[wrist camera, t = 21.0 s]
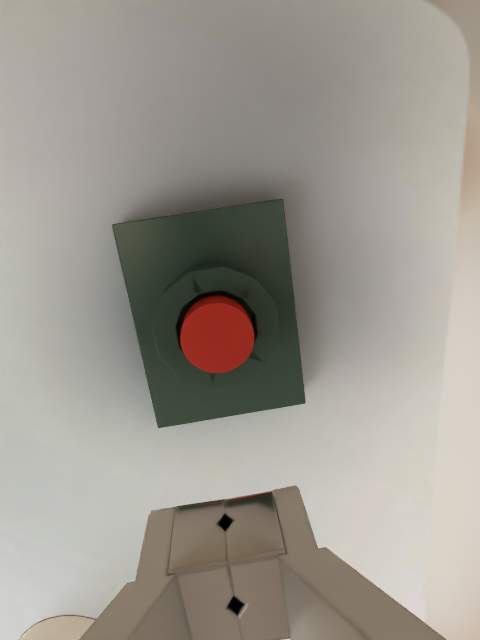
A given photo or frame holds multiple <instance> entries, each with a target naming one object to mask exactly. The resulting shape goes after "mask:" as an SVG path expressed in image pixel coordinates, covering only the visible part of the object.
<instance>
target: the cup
mask: <svg viewBox="0 0 480 640" xmlns="http://www.w3.org/2000/svg"><path fill="white" fill-rule="evenodd" d="M94 621H95V620H93V619H90V618H86V617H79V616H60V617H55V618H50V619H47V620H44V621H42V622H39V623H38V624H36V625H34V626H32V627H31V628H30V629H28V630H27V631H26V632H25V633H24V634H23V635H22V637H21V638H20V639H19V640H79V639H80V638H81V637H82V635H83V634H84V633H85V632H86V631H87V629H88V628H89V627H90V626H91V625H92V624H93V622H94Z"/></svg>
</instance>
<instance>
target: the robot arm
mask: <svg viewBox="0 0 480 640" xmlns="http://www.w3.org/2000/svg"><path fill="white" fill-rule="evenodd" d="M288 638H290V639H291V640H446V639H445V638H444V637H442V636H441V635H440V634H438V633H437V632H436V631H435V630H433V629H432V628H431V627H429V626H428V625H427V624H425V623H424V622H423V621H421V620H420V619H419V618H418V617H416V616H415V615H414V614H412V613H411V612H410V611H408V610H407V609H406V608H404V607H403V606H402V605H401V604H399V603H398V602H397V601H395V600H394V599H393V598H391V597H390V596H389V595H387V594H386V593H385V592H384V591H382V590H381V589H380V588H378V587H377V586H376V585H374V584H373V583H372V582H370V581H369V580H368V579H367V578H365V577H364V576H363V575H361V574H360V573H359V572H357V571H356V570H355V569H353V568H352V567H351V566H350V565H348V564H347V563H346V562H344V561H343V560H342V559H340V558H339V557H338V556H336V555H335V554H334V553H333V552H331V551H330V550H329V549H327V548H320V549H318V547H317V544H316V541H315V538H314V534H313V531H312V528H311V525H310V522H309V519H308V516H307V513H306V510H305V506H304V503H303V500H302V497H301V494H300V491H299V488H298V487H297V486H291V487H286V488H281V489H276V490H273V492H272V491H269V492H263V493H258V494H252V495H247V496H241V497H236V498H230V499H223V500H216V501H210V502H203V503H196V504H189V505H183V506H177V507H172V508H165V509H159V510H153V511H151V513H150V514H149V516H148V520H147V525H146V530H145V535H144V540H143V545H142V550H141V555H140V560H139V565H138V570H137V575H136V580H135V582H130V583H127V584H126V585H125V586H124V587H123V588H122V590H121V591H120V592H119V593H118V594H117V595H116V597H115V598H114V599H113V600H112V601H111V603H110V604H109V605H108V606H107V607H106V608H105V610H104V611H103V612H102V613H101V614H100V615H99V617H98V618H97V619H96V620H95V621H94V622H93V624H92V625H91V626H90V627H89V628H88V629H87V631H86V632H85V633H84V634H83V635H82V637H81V638H80V639H79V640H282V639H288Z"/></svg>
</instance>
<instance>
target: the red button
mask: <svg viewBox="0 0 480 640" xmlns="http://www.w3.org/2000/svg"><path fill="white" fill-rule="evenodd" d="M180 341H181V347H182V350H183V352H184V354H185V356H186V357H187V359H188V360H189V361H190V362H191V363H192V364H193V365H194V366H196V367H197V368H199V369H201V370H204V371H207V372H212V373H223V372H228V371H230V370H233V369H235V368H237V367H238V366H240V365H241V364H242V363H243V362H244V361H245V360H246V359H247V358H248V356H249V355H250V353H251V351H252V348H253V345H254V330H253V327H252V324H251V321H250V318H249V316H248V314H247V312H246V310H245V309H244V307H243V306H242V305H241V304H239V303H238V302H237V301H235V300H234V299H231V298H229V297H226V296H220V295H214V296H208V297H205V298H202V299H200V300H198V301H197V302H196V303H194V304H193V305H192V306H191V307H190V309H189V310H188V311H187V313H186V315H185V317H184V321H183V325H182V329H181V335H180Z"/></svg>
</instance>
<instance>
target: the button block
mask: <svg viewBox="0 0 480 640" xmlns="http://www.w3.org/2000/svg"><path fill="white" fill-rule="evenodd" d="M112 227H113V232H114V236H115V240H116V245H117V249H118V254H119V258H120V262H121V267H122V271H123V276H124V280H125V284H126V289H127V293H128V298H129V302H130V306H131V311H132V315H133V320H134V324H135V328H136V333H137V337H138V342H139V346H140V350H141V355H142V359H143V364H144V368H145V372H146V377H147V381H148V386H149V390H150V394H151V399H152V403H153V408H154V412H155V416H156V421H157V425H158V428H161V427H167V426H173V425H179V424H185V423H191V422H197V421H203V420H209V419H215V418H221V417H227V416H233V415H239V414H245V413H251V412H257V411H263V410H269V409H275V408H281V407H287V406H293V405H299V404H305V403H306V402H305V393H304V384H303V375H302V366H301V357H300V348H299V339H298V330H297V320H296V311H295V302H294V293H293V284H292V275H291V266H290V257H289V248H288V239H287V230H286V221H285V212H284V203H283V199H277V200H270V201H263V202H257V203H250V204H243V205H237V206H230V207H224V208H217V209H210V210H204V211H197V212H191V213H184V214H177V215H171V216H164V217H157V218H151V219H144V220H138V221H131V222H124V223H118V224H113V225H112ZM214 295H220V296H226V297H229V298H231V299H234V300H235V301H237V302H238V303H239V304H241V305H242V306H243V307H244V309H245V310H246V312H247V314H248V316H249V318H250V321H251V324H252V327H253V330H254V345H253V348H252V351H251V353H250V355H249V356H248V358H247V359H246V360H245V361H244V362H243V363H242V364H241V365H240V366H238V367H237V368H235V369H233V370H230V371H228V372H223V373H212V372H207V371H204V370H201V369H199V368H197V367H196V366H194V365H193V364H192V363H191V362H190V361H189V360H188V359H187V357H186V356H185V354H184V352H183V350H182V347H181V341H180V335H181V329H182V325H183V321H184V317H185V315H186V313H187V311H188V310H189V309H190V307H191V306H192V305H193V304H194V303H196V302H197V301H198V300H200V299H202V298H205V297H208V296H214Z"/></svg>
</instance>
